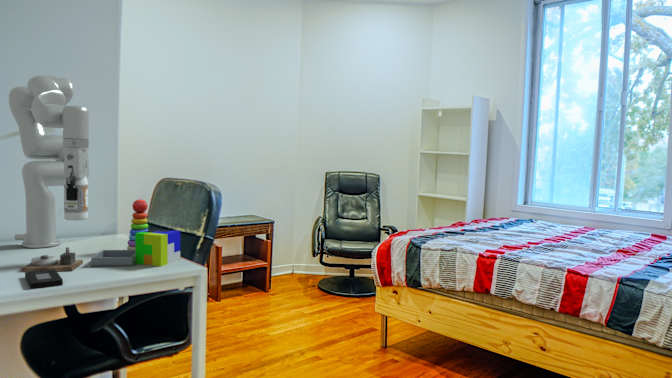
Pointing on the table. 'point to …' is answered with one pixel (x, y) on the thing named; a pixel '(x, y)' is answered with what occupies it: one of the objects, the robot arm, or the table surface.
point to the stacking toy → (137, 221)
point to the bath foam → (77, 202)
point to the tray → (113, 258)
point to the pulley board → (57, 267)
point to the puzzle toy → (157, 247)
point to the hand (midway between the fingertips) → (76, 198)
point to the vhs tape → (43, 279)
